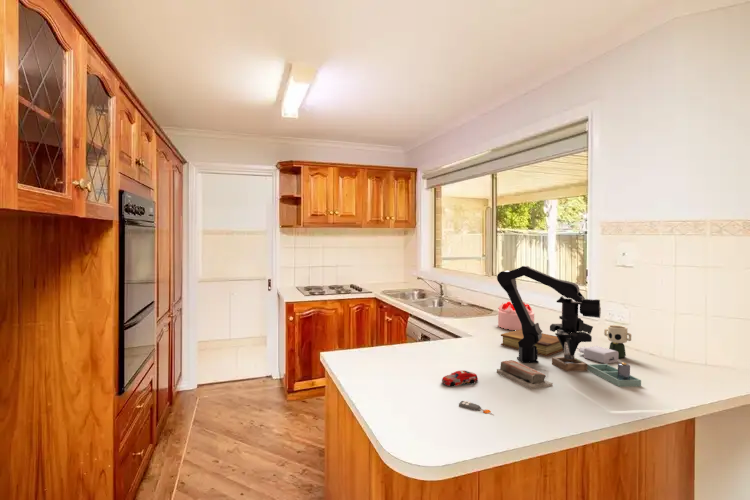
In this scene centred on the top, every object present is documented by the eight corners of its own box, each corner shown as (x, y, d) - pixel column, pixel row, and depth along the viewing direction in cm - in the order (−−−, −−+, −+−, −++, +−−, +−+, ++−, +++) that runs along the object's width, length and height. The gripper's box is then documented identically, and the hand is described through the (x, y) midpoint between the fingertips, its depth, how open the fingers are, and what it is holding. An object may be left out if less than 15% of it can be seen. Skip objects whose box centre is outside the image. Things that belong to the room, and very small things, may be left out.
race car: (446, 388, 127) (446, 377, 127) (439, 382, 132) (439, 371, 132) (480, 384, 131) (480, 372, 131) (471, 378, 136) (471, 367, 136)
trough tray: (618, 387, 127) (619, 380, 127) (586, 370, 144) (586, 364, 144) (641, 387, 128) (641, 380, 128) (606, 370, 145) (606, 363, 145)
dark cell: (622, 385, 129) (622, 364, 129) (614, 381, 132) (615, 361, 132) (632, 384, 129) (632, 364, 129) (624, 380, 133) (625, 361, 132)
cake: (530, 333, 204) (530, 307, 204) (493, 328, 215) (493, 303, 215) (536, 326, 221) (537, 302, 220) (502, 322, 232) (502, 299, 231)
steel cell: (567, 359, 145) (567, 341, 145) (562, 356, 149) (562, 339, 149) (576, 359, 146) (576, 341, 146) (570, 356, 149) (571, 339, 149)
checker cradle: (564, 372, 143) (565, 363, 142) (551, 364, 152) (552, 356, 151) (587, 371, 143) (587, 363, 143) (573, 364, 152) (573, 356, 152)
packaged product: (495, 360, 142) (516, 358, 146) (495, 373, 142) (516, 370, 146) (530, 376, 125) (553, 373, 129) (530, 390, 126) (553, 387, 129)
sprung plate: (566, 368, 144) (566, 366, 144) (557, 363, 150) (557, 361, 150) (581, 368, 145) (581, 366, 145) (571, 363, 151) (571, 361, 151)
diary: (567, 350, 174) (567, 338, 174) (546, 357, 163) (547, 344, 162) (521, 339, 192) (522, 328, 192) (500, 345, 181) (500, 333, 181)
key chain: (457, 408, 112) (457, 403, 112) (462, 403, 115) (462, 399, 115) (500, 420, 105) (501, 415, 105) (505, 415, 108) (505, 410, 108)
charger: (585, 352, 170) (618, 362, 156) (571, 354, 166) (604, 364, 152) (585, 341, 170) (618, 350, 156) (571, 344, 166) (604, 353, 152)
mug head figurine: (599, 354, 166) (600, 325, 165) (608, 352, 169) (608, 323, 169) (626, 361, 156) (627, 330, 156) (634, 358, 160) (635, 328, 160)
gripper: (605, 319, 138) (604, 361, 139) (574, 310, 157) (574, 347, 157) (577, 319, 137) (576, 361, 138) (549, 310, 156) (548, 347, 156)
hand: (569, 354), depth 147 cm, fingers closed on steel cell, 4 cm apart
